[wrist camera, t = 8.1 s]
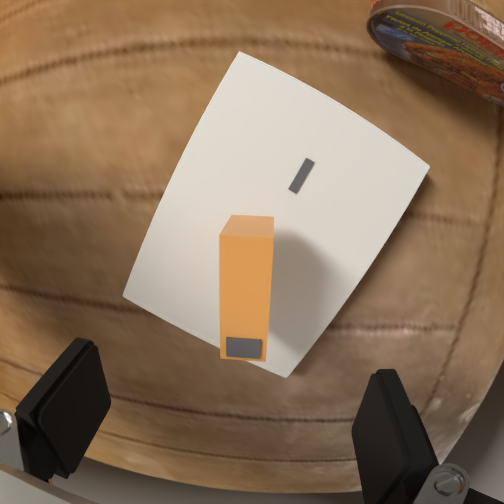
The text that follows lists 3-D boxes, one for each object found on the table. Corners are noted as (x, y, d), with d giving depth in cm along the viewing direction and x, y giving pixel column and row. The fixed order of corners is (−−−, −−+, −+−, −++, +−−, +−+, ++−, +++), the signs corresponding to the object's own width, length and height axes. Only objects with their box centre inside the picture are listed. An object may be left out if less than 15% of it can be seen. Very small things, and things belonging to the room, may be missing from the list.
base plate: (131, 286, 26) (111, 307, 22) (242, 58, 20) (235, 42, 16) (285, 364, 27) (286, 394, 24) (418, 164, 21) (443, 169, 17)
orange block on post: (231, 214, 19) (218, 235, 15) (273, 216, 19) (273, 238, 15) (230, 318, 21) (219, 360, 17) (267, 320, 21) (265, 363, 17)
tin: (353, 41, 19) (389, -4, 11) (359, 9, 18) (394, -43, 10) (507, 115, 19) (573, 115, 11) (510, 84, 18) (574, 77, 10)
